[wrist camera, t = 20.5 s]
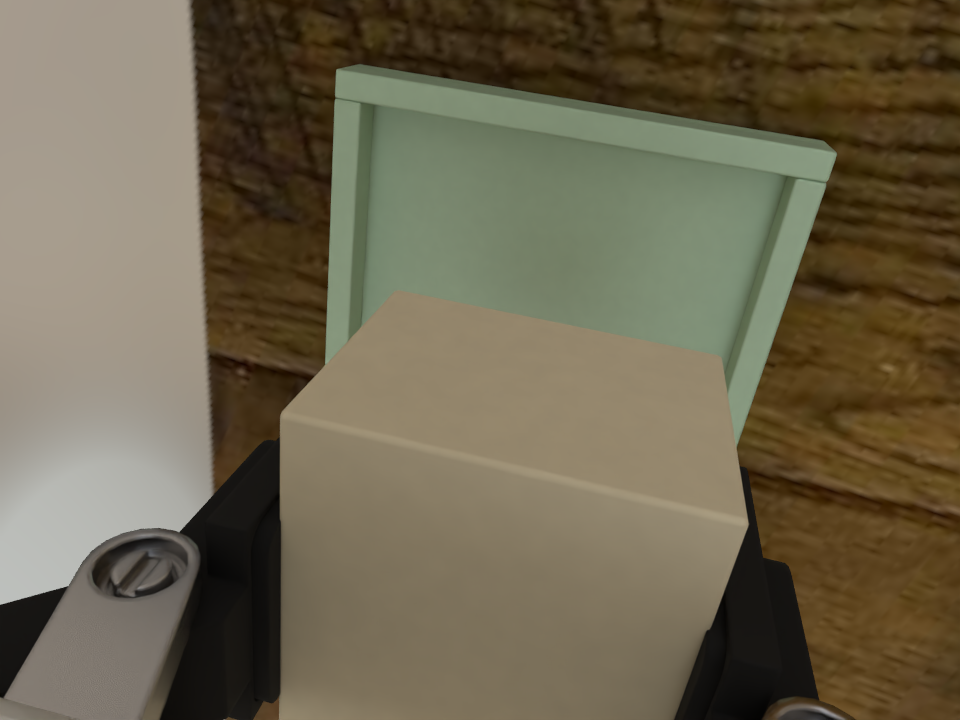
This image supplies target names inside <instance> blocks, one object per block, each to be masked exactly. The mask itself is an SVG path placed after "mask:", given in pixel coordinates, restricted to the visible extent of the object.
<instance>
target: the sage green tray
mask: <svg viewBox="0 0 960 720" xmlns="http://www.w3.org/2000/svg"><path fill="white" fill-rule="evenodd" d="M335 97H336V98H337V99H335V108H334V135H333V163H332V190H331V217H330V245H329V272H328V300H327V327H326V355H325V365H326V364H327V363H328V362H329V361H330V360H331V359H332V358H333V357H334V356H335V354H336V353H337V352H338V351H339V350H340V349H341V348H342V347H343V346H344V345H345V344H346V343H347V342H348V341H349V340H350V338H351V337H352V336H353V335H354V334H355V333H356V332H357V331H358V330H359V329H360V328H361V327H362V326H363V325H364V323H365V322H366V321H367V320H368V319H369V318H370V317H371V316H372V315H373V314H374V313H375V312H376V311H377V310H378V309H379V307H380V306H381V305H382V304H383V303H384V302H385V301H386V300H387V299H388V298H389V297H390V296H391V295H392V294H393V292H394V291H397V290H400V291H405V292H410V293H415V294H420V295H425V296H430V297H435V298H440V299H445V300H449V301H454V302H459V303H464V304H469V305H474V306H479V307H484V308H489V309H494V310H498V311H503V312H508V313H513V314H518V315H523V316H528V317H533V318H538V319H543V320H548V321H552V322H557V323H562V324H567V325H572V326H577V327H582V328H587V329H592V330H597V331H601V332H606V333H611V334H616V335H621V336H626V337H631V338H636V339H641V340H646V341H651V342H655V343H660V344H665V345H670V346H675V347H680V348H685V349H690V350H695V351H700V352H704V353H709V354H714V355H718V356H720V357H721V358H722V363H723V369H724V375H725V381H726V387H727V394H728V400H729V406H730V412H731V418H732V424H733V431H734V437H735V443H736V447H737V445H738V442H739V439H740V436H741V433H742V430H743V427H744V424H745V421H746V418H747V415H748V413H749V410H750V407H751V404H752V401H753V398H754V395H755V392H756V389H757V386H758V383H759V380H760V378H761V375H762V372H763V369H764V366H765V363H766V360H767V357H768V354H769V351H770V348H771V346H772V343H773V340H774V337H775V334H776V331H777V328H778V325H779V322H780V319H781V316H782V314H783V311H784V308H785V305H786V302H787V299H788V296H789V293H790V290H791V287H792V284H793V281H794V279H795V276H796V273H797V270H798V267H799V264H800V261H801V258H802V255H803V252H804V249H805V247H806V244H807V241H808V238H809V235H810V232H811V229H812V226H813V223H814V220H815V217H816V214H817V212H818V209H819V206H820V203H821V200H822V197H823V194H824V191H825V188H826V183H825V182H827V181H828V179H829V176H830V174H831V171H832V168H833V165H834V162H835V159H836V156H837V153H836V152H835V151H834V150H833V149H832V148H831V147H830V146H828V144H827V143H825V142H824V141H822V140H816V139H810V138H804V137H798V136H791V135H785V134H779V133H773V132H767V131H761V130H755V129H749V128H743V127H737V126H731V125H725V124H719V123H713V122H707V121H701V120H695V119H689V118H682V117H676V116H670V115H664V114H658V113H652V112H646V111H640V110H634V109H628V108H622V107H616V106H610V105H604V104H598V103H592V102H586V101H580V100H573V99H567V98H561V97H555V96H549V95H543V94H537V93H531V92H525V91H519V90H513V89H507V88H501V87H495V86H489V85H483V84H477V83H471V82H465V81H458V80H452V79H446V78H440V77H434V76H428V75H422V74H416V73H410V72H404V71H398V70H392V69H386V68H380V67H374V66H368V65H362V64H358V65H353V66H350V67H345V68H340V69H337V70H336V86H335Z"/></svg>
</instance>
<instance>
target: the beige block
mask: <svg viewBox="0 0 960 720" xmlns="http://www.w3.org/2000/svg"><path fill="white" fill-rule="evenodd" d="M280 521H281V633H280V695H279V720H674V719H675V716H676V713H677V711H678V708H679V705H680V702H681V700H682V697H683V694H684V691H685V689H686V686H687V683H688V680H689V677H690V675H691V672H692V669H693V666H694V664H695V661H696V658H697V655H698V653H699V650H700V647H701V644H702V642H703V639H704V636H705V633H706V631H707V630H710V628H711V626H712V624H713V621H714V618H715V615H716V613H717V610H718V607H719V604H720V602H721V599H722V596H723V594H724V591H725V588H726V585H727V583H728V580H729V577H730V574H731V572H732V569H733V566H734V564H735V561H736V558H737V555H738V553H739V550H740V547H741V544H742V542H743V539H744V536H745V533H746V531H747V528H748V525H749V523H748V517H747V511H746V505H745V498H744V492H743V486H742V480H741V474H740V468H739V461H738V455H737V449H736V443H735V437H734V431H733V424H732V418H731V412H730V406H729V400H728V394H727V387H726V381H725V375H724V369H723V363H722V358H721V357H720V356H718V355H714V354H709V353H704V352H700V351H695V350H690V349H685V348H680V347H675V346H670V345H665V344H660V343H655V342H651V341H646V340H641V339H636V338H631V337H626V336H621V335H616V334H611V333H606V332H601V331H597V330H592V329H587V328H582V327H577V326H572V325H567V324H562V323H557V322H552V321H548V320H543V319H538V318H533V317H528V316H523V315H518V314H513V313H508V312H503V311H498V310H494V309H489V308H484V307H479V306H474V305H469V304H464V303H459V302H454V301H449V300H445V299H440V298H435V297H430V296H425V295H420V294H415V293H410V292H405V291H400V290H397V291H394V292H393V294H392V295H391V296H390V297H389V298H388V299H387V300H386V301H385V302H384V303H383V304H382V305H381V306H380V307H379V309H378V310H377V311H376V312H375V313H374V314H373V315H372V316H371V317H370V318H369V319H368V320H367V321H366V322H365V323H364V325H363V326H362V327H361V328H360V329H359V330H358V331H357V332H356V333H355V334H354V335H353V336H352V337H351V338H350V340H349V341H348V342H347V343H346V344H345V345H344V346H343V347H342V348H341V349H340V350H339V351H338V352H337V353H336V354H335V356H334V357H333V358H332V359H331V360H330V361H329V362H328V363H327V364H326V365H325V366H324V367H323V368H322V369H321V371H320V372H319V373H318V374H317V375H316V376H315V377H314V378H313V379H312V380H311V381H310V382H309V383H308V384H307V385H306V387H305V388H304V389H303V390H302V391H301V392H300V393H299V394H298V395H297V396H296V397H295V398H294V399H293V400H292V402H291V403H290V404H289V405H288V406H287V407H286V408H285V409H284V410H283V411H282V413H281V415H280Z"/></svg>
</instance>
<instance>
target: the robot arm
mask: <svg viewBox="0 0 960 720" xmlns="http://www.w3.org/2000/svg"><path fill="white" fill-rule="evenodd" d="M739 468H740V474H741V480H742V486H743V492H744V498H745V505H746V511H747V517H748V523H749V525H748V528H747V531H746V533H745V536H744V539H743V542H742V544H741V547H740V550H739V553H738V555H737V558H736V561H735V564H734V566H733V569H732V572H731V574H730V577H729V580H728V583H727V585H726V588H725V591H724V594H723V596H722V599H721V602H720V604H719V607H718V610H717V613H716V615H715V618H714V621H713V624H712V626H711V628H710V630H707V631H706V633H705V636H704V639H703V642H702V644H701V647H700V650H699V653H698V655H697V658H696V661H695V664H694V666H693V669H692V672H691V675H690V677H689V680H688V683H687V686H686V689H685V691H684V694H683V697H682V700H681V702H680V705H679V708H678V711H677V713H676V716H675V719H674V720H856V719H854V718H853V717H852V716H850V715H848V714H847V713H845V712H843V711H842V710H840V709H838V708H837V707H835V706H833V705H830V704H827V703H825V702H822V701H819V698H818V693H817V689H816V684H815V680H814V675H813V671H812V666H811V662H810V657H809V652H808V648H807V643H806V639H805V634H804V630H803V625H802V621H801V616H800V612H799V607H798V603H797V598H796V594H795V589H794V585H793V580H792V576H791V572H790V569H789V567H788V566H787V565H786V564H785V563H783V562H778V561H774V560H770V559H766V558H763V555H762V550H761V544H760V538H759V533H758V527H757V521H756V516H755V510H754V504H753V499H752V493H751V487H750V482H749V476H748V471H747V468H745V467H740V466H739ZM280 633H281V521H280V437H279V438H278V439H277V441H273V440H266V441H264V442H262V443H261V444H260V445H259V446H258V447H257V448H256V449H255V450H254V451H253V452H252V453H251V455H250V456H249V457H248V458H247V459H246V460H245V461H244V462H243V463H242V464H241V465H240V467H239V468H238V469H237V470H236V471H235V472H234V473H233V474H232V475H231V476H230V477H229V479H228V480H227V481H226V482H225V483H224V484H223V485H222V486H221V487H220V488H219V489H218V491H217V492H216V493H215V494H214V495H213V496H212V497H211V498H210V499H209V500H208V502H207V503H206V504H205V505H204V506H203V507H202V508H201V509H200V510H199V512H197V514H196V515H195V516H194V517H193V518H192V519H191V520H190V521H189V522H188V523H187V524H186V526H185V527H184V528H183V529H182V530H181V531H180V532H177V531H173V530H167V529H161V528H152V529H139V530H135V531H130V532H126V533H123V534H120V535H118V536H116V537H113V538H111V539H109V540H106V541H105V542H103V543H102V544H101V545H99V546H98V547H96V548H95V549H94V550H92V551H91V552H90V554H89V555H88V556H87V557H86V559H85V560H84V561H83V562H82V564H81V565H80V567H79V569H78V571H77V572H76V574H75V576H74V578H73V579H72V581H71V583H70V584H69V586H67V587H64V588H60V589H56V590H53V591H49V592H46V593H42V594H38V595H34V596H31V597H27V598H24V599H20V600H16V601H13V602H10V603H6V604H2V605H0V720H224V719H226V718H228V717H231V718H234V719H237V720H253V719H254V717H255V715H256V713H257V712H258V710H259V708H260V706H261V705H262V703H263V701H266V702H269V703H274V702H275V701H276V700H277V698H278V696H279V695H280Z"/></svg>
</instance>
